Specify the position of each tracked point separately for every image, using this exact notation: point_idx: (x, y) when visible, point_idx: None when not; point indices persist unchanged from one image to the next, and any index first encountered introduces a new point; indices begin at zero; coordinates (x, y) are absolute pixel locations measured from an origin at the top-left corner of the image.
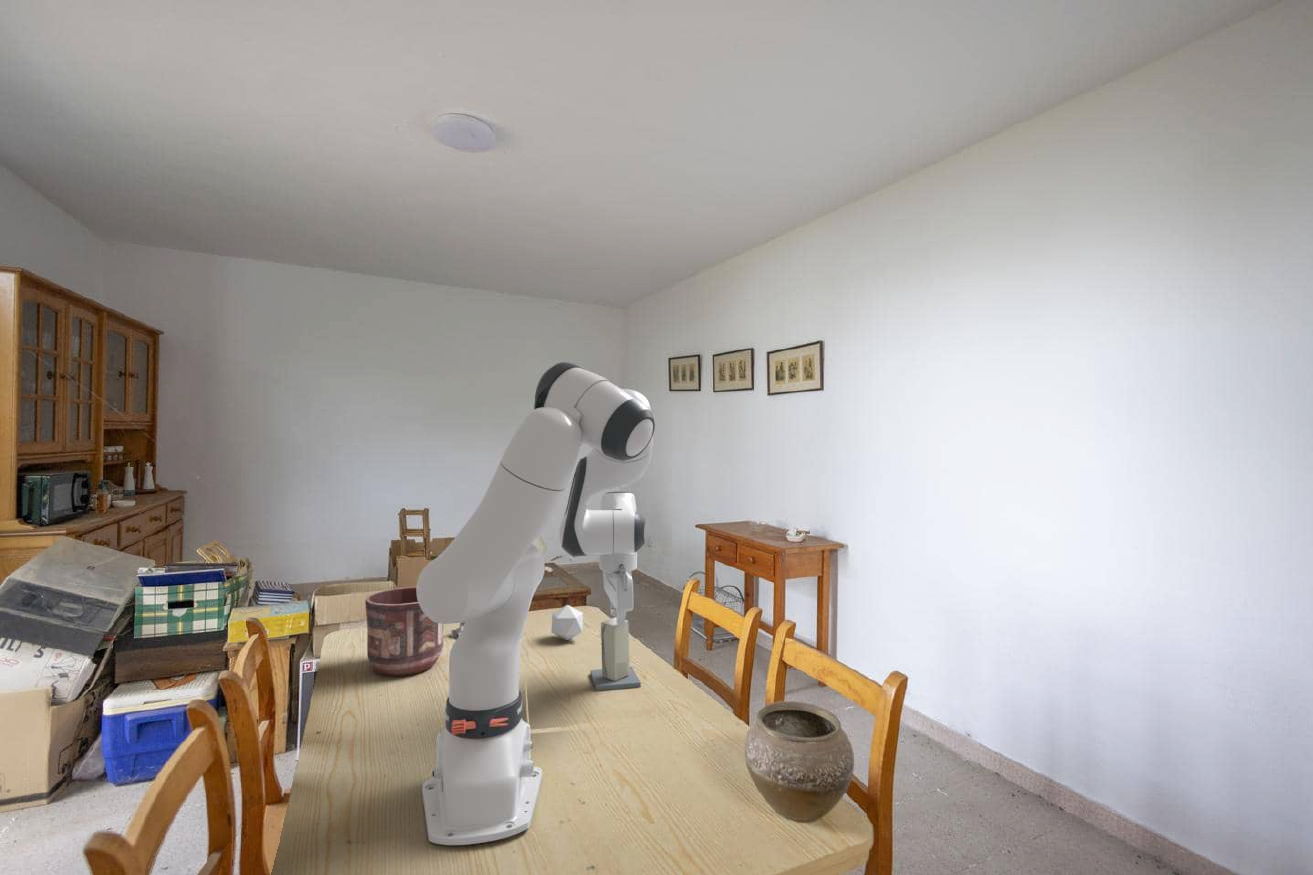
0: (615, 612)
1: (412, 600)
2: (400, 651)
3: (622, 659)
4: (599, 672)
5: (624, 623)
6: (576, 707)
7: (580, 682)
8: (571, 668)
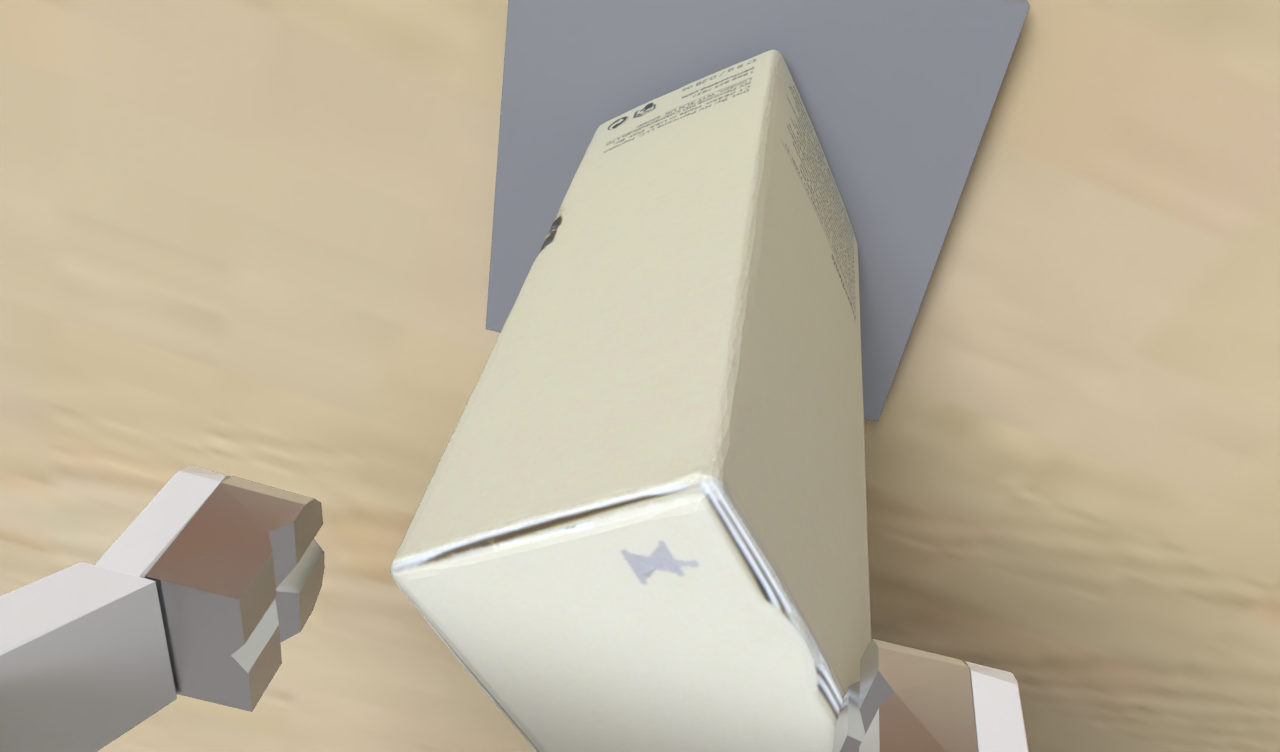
0: (272, 596)
1: None
2: None
3: (821, 250)
4: None
5: (1012, 705)
6: (1088, 608)
7: None
8: (329, 388)
